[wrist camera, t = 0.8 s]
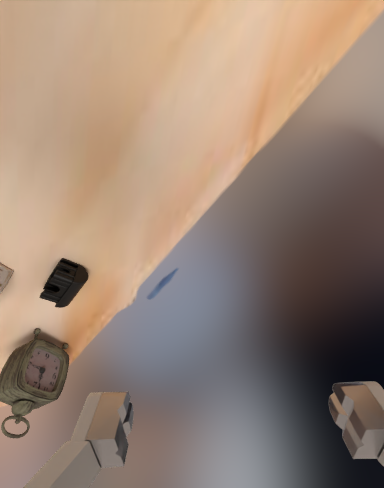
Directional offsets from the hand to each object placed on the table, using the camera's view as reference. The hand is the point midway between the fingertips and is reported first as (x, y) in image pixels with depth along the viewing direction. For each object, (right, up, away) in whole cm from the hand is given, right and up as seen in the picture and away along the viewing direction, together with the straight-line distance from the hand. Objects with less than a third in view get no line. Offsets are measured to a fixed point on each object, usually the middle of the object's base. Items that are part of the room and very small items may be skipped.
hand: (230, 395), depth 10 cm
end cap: (-33, -2, +52) cm, 61 cm away
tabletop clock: (-48, -24, +65) cm, 84 cm away
